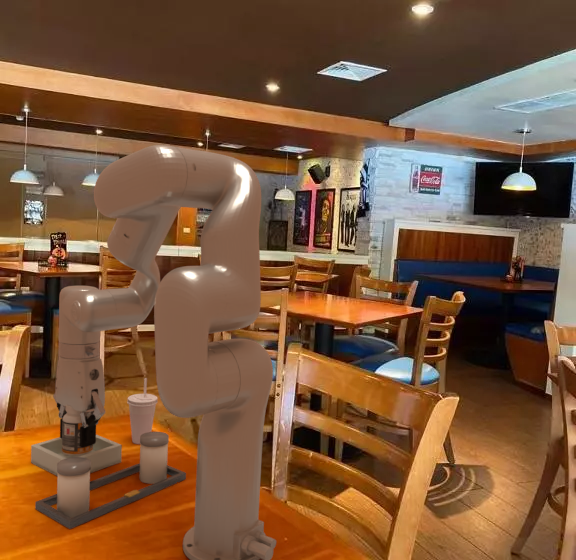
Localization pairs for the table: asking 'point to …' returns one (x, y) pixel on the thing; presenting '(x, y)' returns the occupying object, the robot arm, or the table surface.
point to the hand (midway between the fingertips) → (77, 440)
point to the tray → (100, 456)
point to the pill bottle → (73, 433)
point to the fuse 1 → (73, 486)
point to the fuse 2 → (153, 457)
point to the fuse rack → (129, 497)
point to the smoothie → (141, 413)
